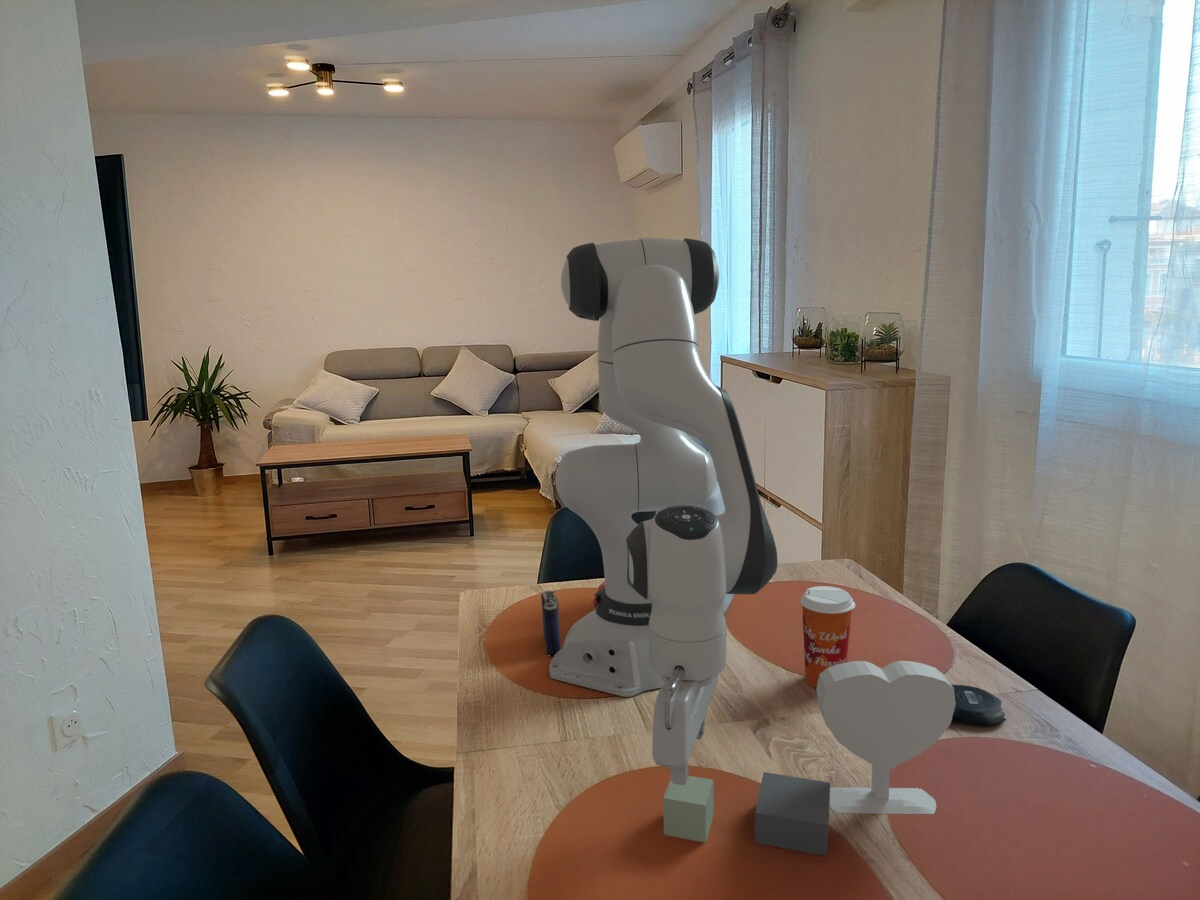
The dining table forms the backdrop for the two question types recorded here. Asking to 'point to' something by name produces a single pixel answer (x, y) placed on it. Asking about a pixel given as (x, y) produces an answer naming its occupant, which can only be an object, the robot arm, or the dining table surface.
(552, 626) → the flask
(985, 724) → the black rounded flattened block
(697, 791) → the green cube
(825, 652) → the coffee cup
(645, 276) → the robot arm
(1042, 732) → the dining table surface
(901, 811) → the heart sculpture
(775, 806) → the charcoal block
